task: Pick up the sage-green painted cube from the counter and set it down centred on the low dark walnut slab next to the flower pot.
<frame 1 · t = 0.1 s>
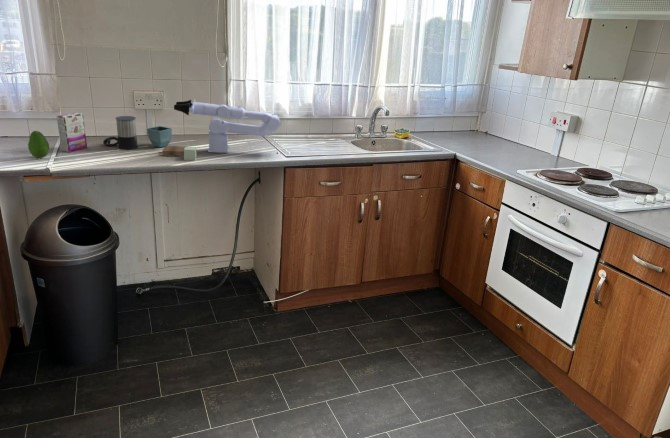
hand: (175, 105, 243), 22 cm above the worktop, tool horizontal, fingers open, 7 cm apart
candy bar box: (74, 149, 238), on the worktop
base slab: (175, 153, 243), on the worktop
cube: (190, 158, 238), on the worktop
flower pot: (160, 146, 255), on the worktop
milk frother: (120, 147, 248), on the worktop
avocado: (40, 158, 221), on the worktop
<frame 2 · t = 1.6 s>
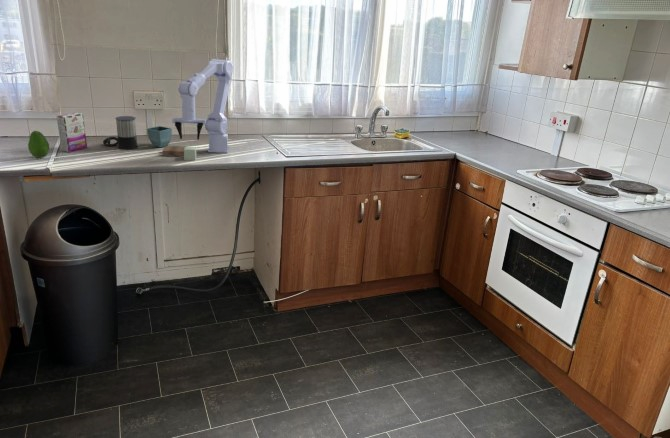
hand: (189, 138, 234), 9 cm above the worktop, tool pointing down, fingers open, 7 cm apart
nothing on the worktop moved.
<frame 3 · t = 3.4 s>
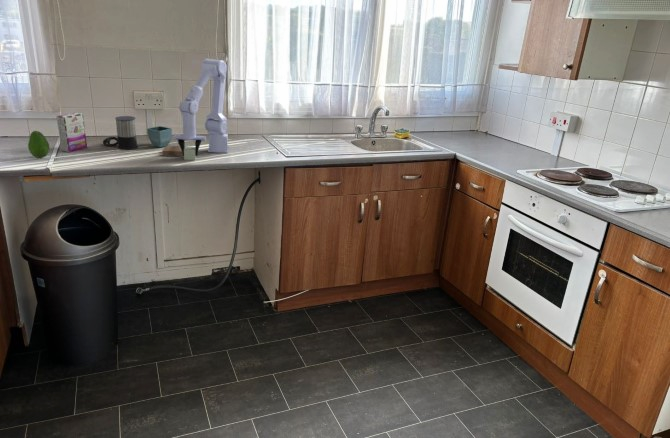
hand: (190, 155, 237), 1 cm above the worktop, tool pointing down, fingers closed on cube, 5 cm apart
cube: (190, 158, 237), on the worktop, touching gripper
everything else where it was.
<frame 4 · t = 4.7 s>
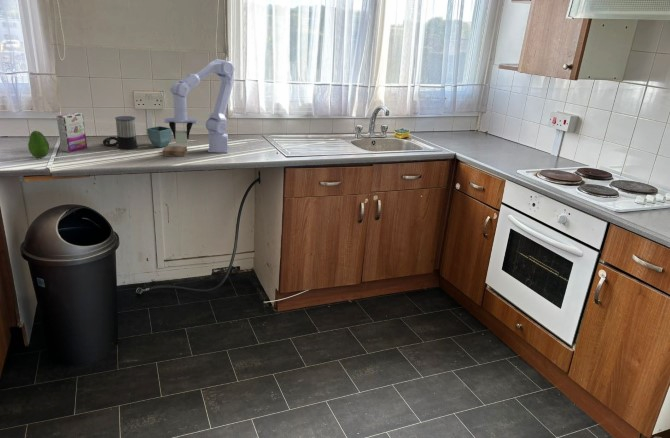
hand: (181, 138, 237), 8 cm above the worktop, tool pointing down, fingers closed on cube, 5 cm apart
cube: (181, 142, 238), point 7 cm above the worktop, touching gripper
everything else where it was.
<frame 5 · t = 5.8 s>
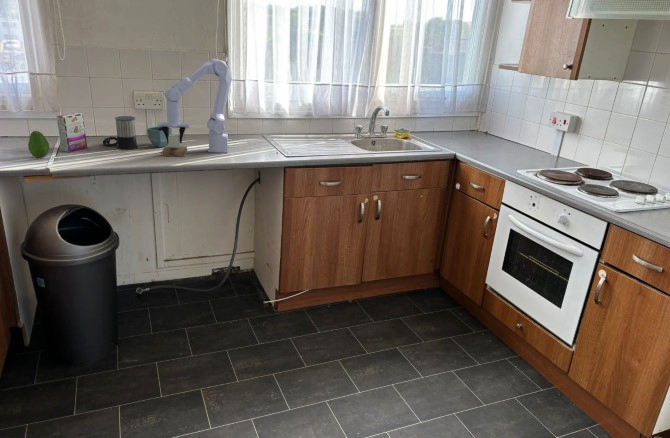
hand: (174, 142, 241), 5 cm above the worktop, tool pointing down, fingers closed on cube, 5 cm apart
cube: (174, 146, 242), point 4 cm above the worktop, touching gripper
everything else where it was.
when the fingers open (5 cm above the worktop, at t = 6.4 s): cube drops 1 cm, resting on base slab.
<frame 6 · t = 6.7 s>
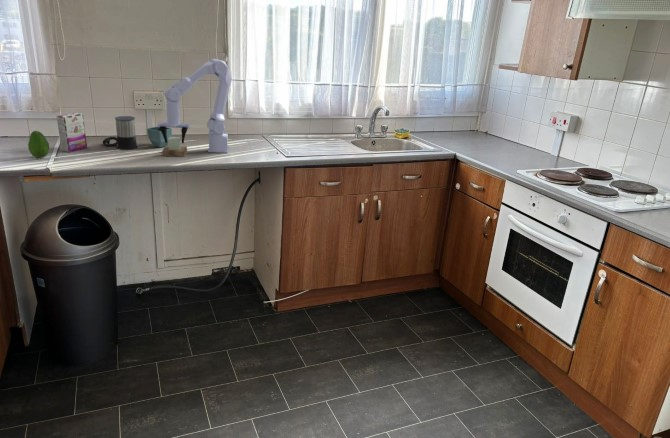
hand: (174, 142, 241), 5 cm above the worktop, tool pointing down, fingers open, 7 cm apart
cube: (174, 148, 242), point 2 cm above the worktop, touching base slab
everything else where it was.
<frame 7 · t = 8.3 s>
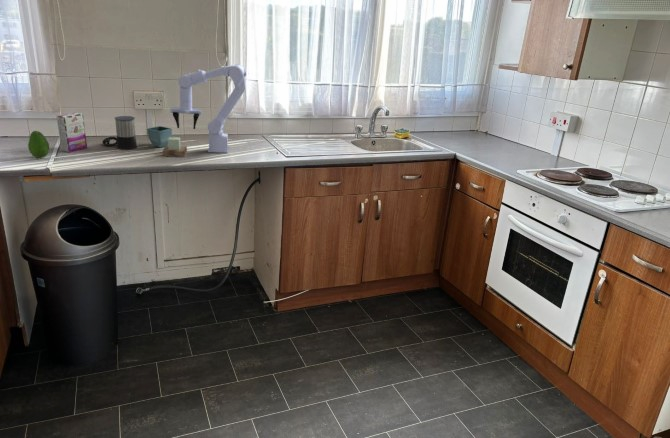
hand: (186, 128, 250), 10 cm above the worktop, tool pointing down, fingers open, 7 cm apart
nothing on the worktop moved.
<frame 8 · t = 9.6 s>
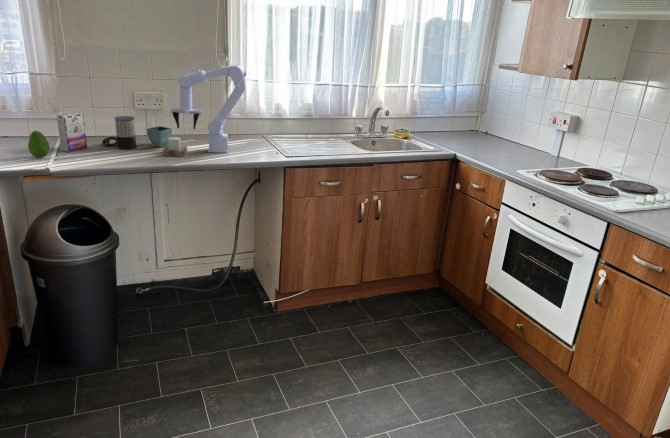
hand: (186, 128, 250), 10 cm above the worktop, tool pointing down, fingers open, 7 cm apart
nothing on the worktop moved.
at the end: cube inside the target area on the base slab (0.2 cm from its centre), point 2.5 cm above the base slab's base; cube tilted 0°; the gripper is holding nothing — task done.
